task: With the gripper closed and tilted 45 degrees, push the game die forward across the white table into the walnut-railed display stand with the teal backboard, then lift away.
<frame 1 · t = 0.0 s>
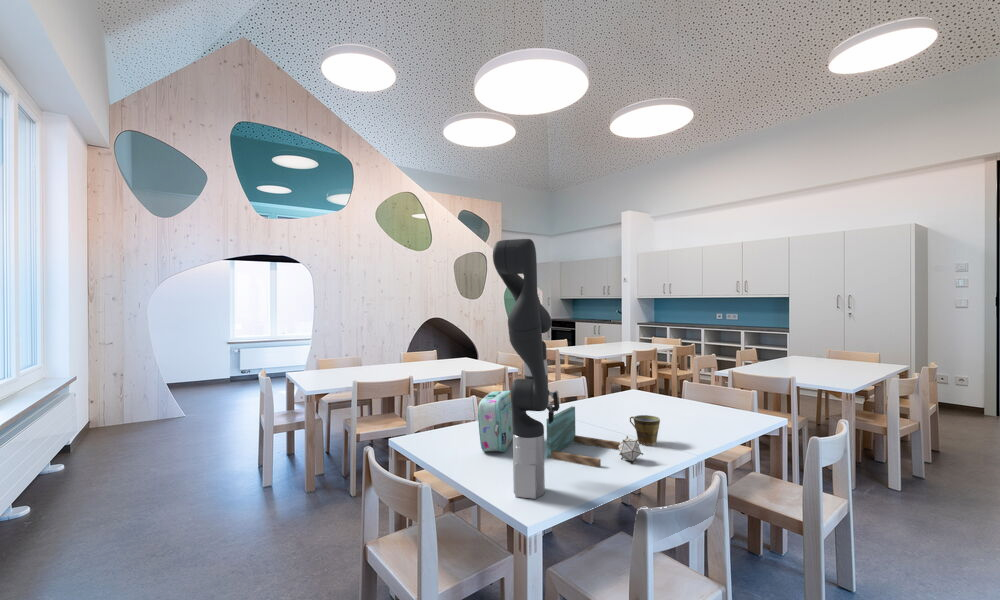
hand: (537, 422, 146), 17 cm above the table, tool pointing down, fingers open, 8 cm apart
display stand: (586, 453, 167), on the table
lunch box: (498, 446, 178), on the table
game die: (629, 461, 159), on the table
ceramic cup: (643, 443, 179), on the table
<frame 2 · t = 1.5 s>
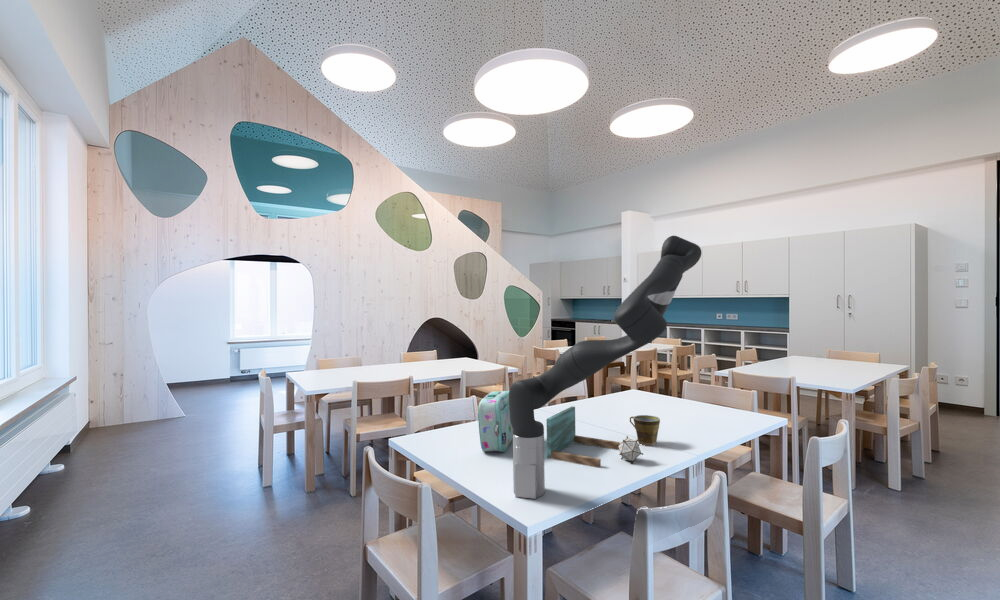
hand: (640, 333, 149), 45 cm above the table, tool tilted 40°, fingers open, 8 cm apart
nothing on the table moved.
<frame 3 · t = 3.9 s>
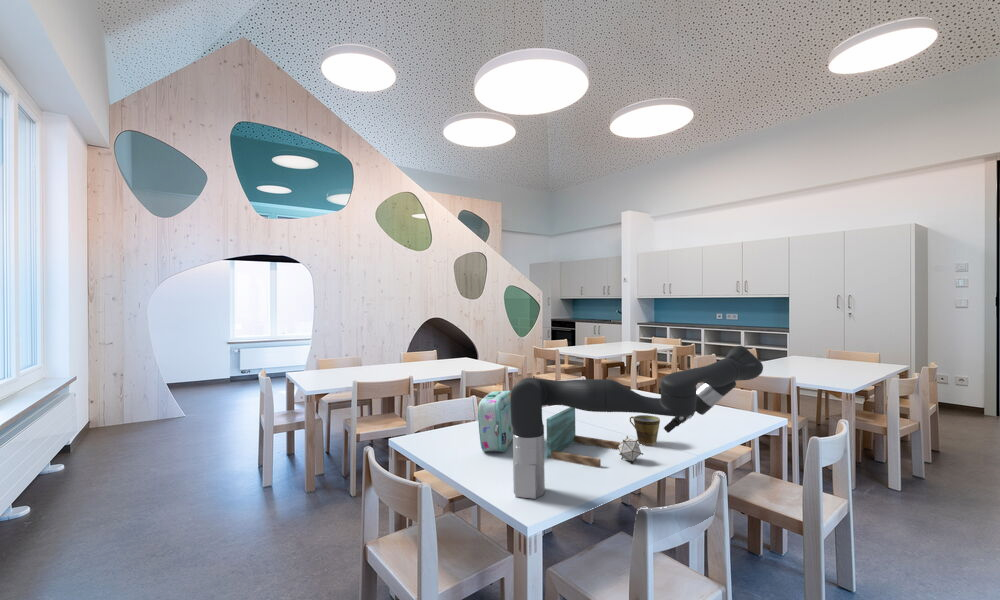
hand: (666, 430, 152), 12 cm above the table, tool tilted 45°, fingers closed
nothing on the table moved.
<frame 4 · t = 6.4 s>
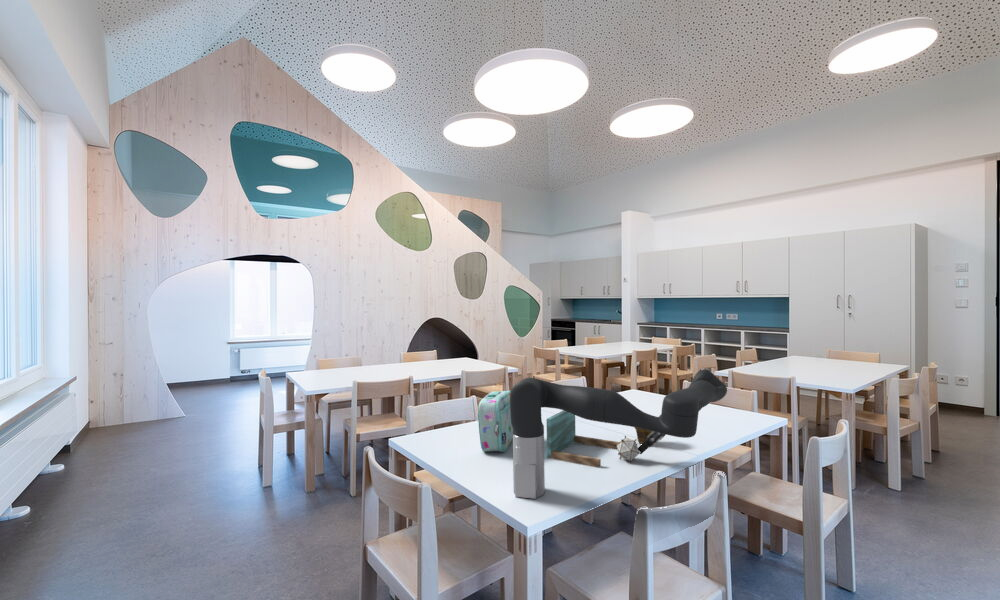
hand: (640, 450, 159), 4 cm above the table, tool tilted 45°, fingers closed
game die: (628, 461, 159), on the table, touching gripper
everything else where it was.
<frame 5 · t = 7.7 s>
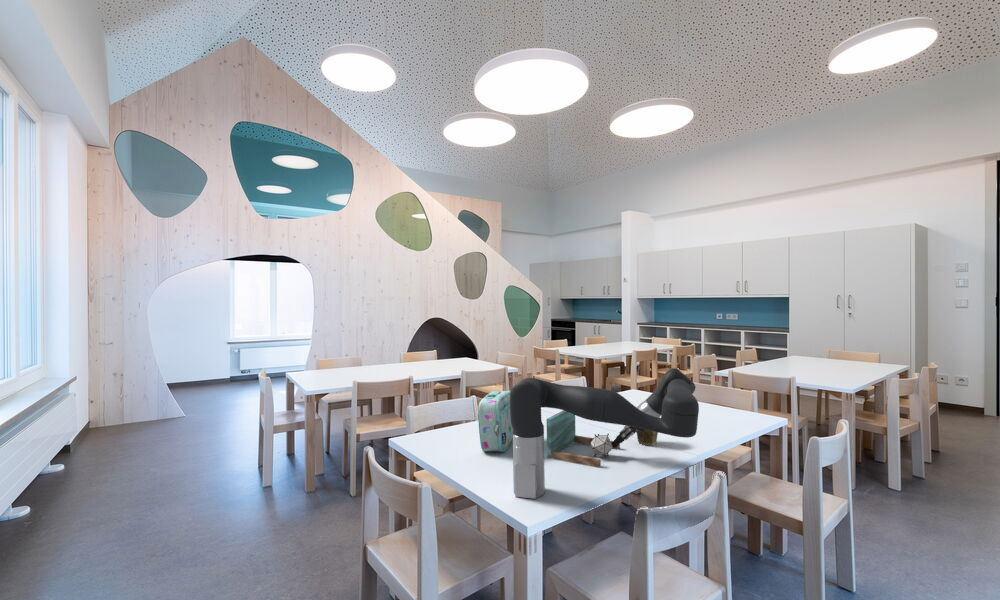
hand: (612, 446, 164), 4 cm above the table, tool tilted 45°, fingers closed
game die: (602, 457, 162), on the table, touching gripper
everything else where it was.
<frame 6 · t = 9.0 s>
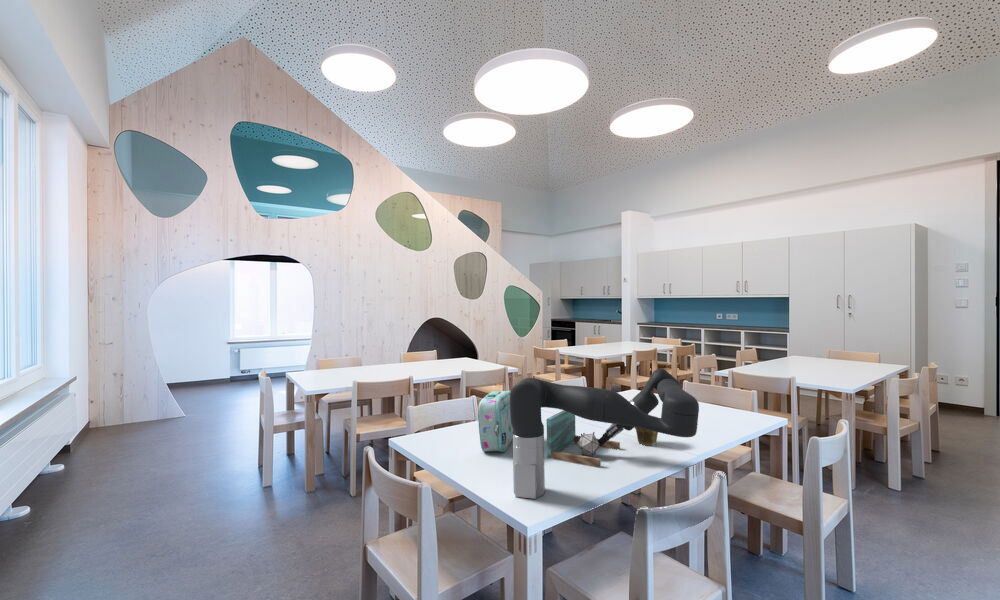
hand: (599, 443, 165), 4 cm above the table, tool tilted 45°, fingers closed
game die: (590, 456, 163), on the table, touching gripper
everything else where it was.
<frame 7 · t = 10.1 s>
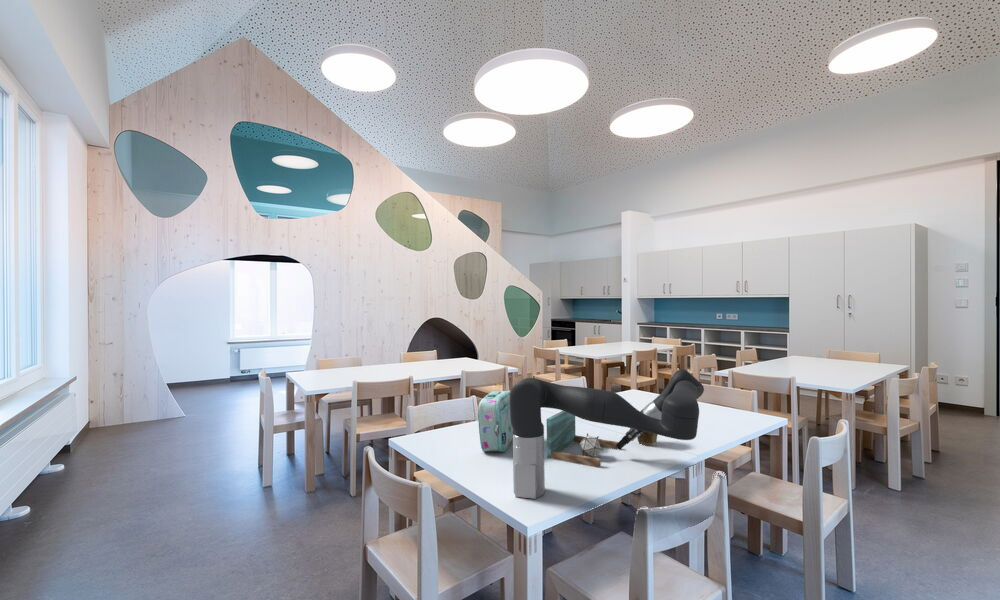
hand: (618, 447, 162), 4 cm above the table, tool tilted 45°, fingers closed
game die: (590, 457, 163), on the table
everything else where it was.
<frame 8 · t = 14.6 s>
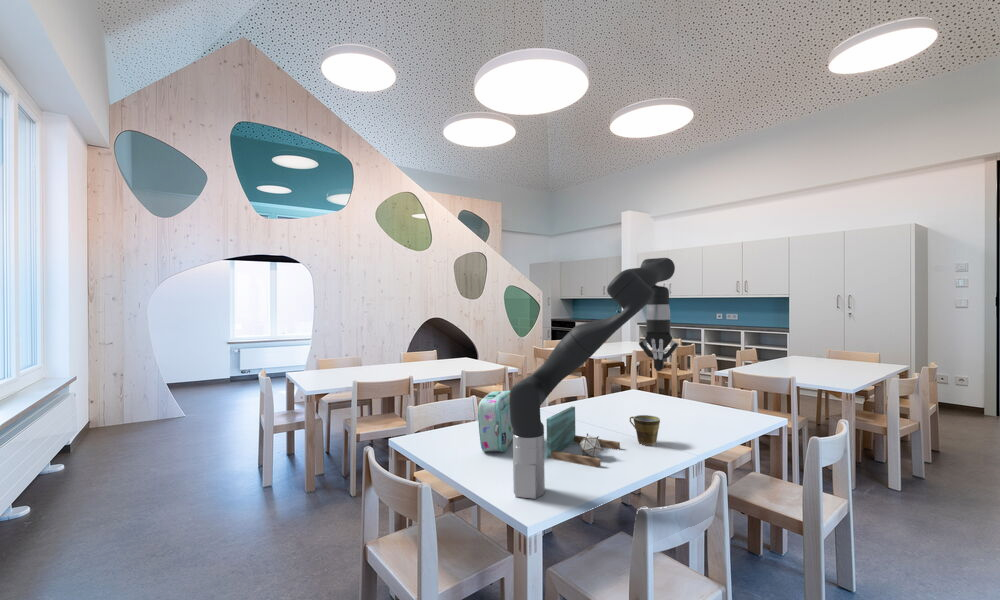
hand: (659, 370, 149), 33 cm above the table, tool pointing down, fingers closed
nothing on the table moved.
at the end: game die 4.3 cm from the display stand (horizontally); game die tilted 0°; game die on the table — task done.
